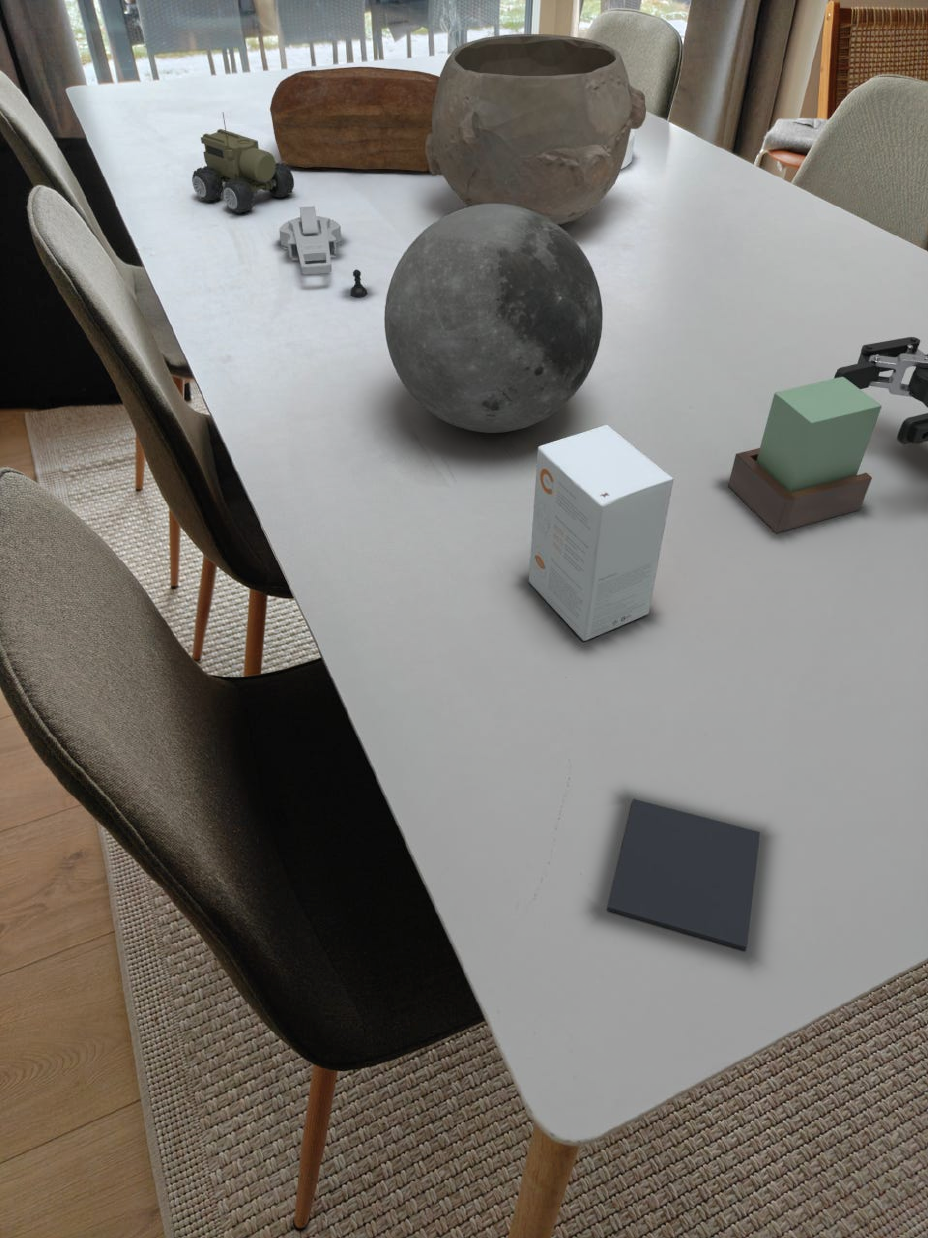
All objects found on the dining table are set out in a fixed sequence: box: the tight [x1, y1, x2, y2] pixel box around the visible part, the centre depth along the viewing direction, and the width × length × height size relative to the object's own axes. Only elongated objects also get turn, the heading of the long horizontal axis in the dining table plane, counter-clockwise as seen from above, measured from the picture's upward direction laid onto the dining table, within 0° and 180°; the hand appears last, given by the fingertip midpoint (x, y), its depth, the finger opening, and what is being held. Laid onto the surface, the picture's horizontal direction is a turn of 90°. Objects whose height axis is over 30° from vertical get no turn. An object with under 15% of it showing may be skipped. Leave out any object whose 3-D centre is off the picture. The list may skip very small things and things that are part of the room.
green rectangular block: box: [756, 377, 883, 493], centre depth 80 cm, size 7×5×10 cm
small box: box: [528, 424, 674, 642], centre depth 70 cm, size 8×6×13 cm
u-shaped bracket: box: [727, 447, 873, 534], centre depth 82 cm, size 9×7×4 cm
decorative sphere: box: [383, 204, 604, 434], centre depth 86 cm, size 20×20×20 cm
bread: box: [269, 66, 440, 172], centre depth 141 cm, size 14×28×12 cm, turn 86°
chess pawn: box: [349, 269, 368, 298], centre depth 111 cm, size 2×2×3 cm
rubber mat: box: [607, 798, 760, 951], centre depth 57 cm, size 8×8×1 cm
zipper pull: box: [278, 206, 343, 275], centre depth 118 cm, size 8×18×4 cm, turn 10°
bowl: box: [426, 33, 647, 226], centre depth 122 cm, size 27×29×20 cm
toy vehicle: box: [191, 113, 295, 215], centre depth 130 cm, size 10×11×12 cm
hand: (867, 406), depth 79 cm, fingers open, 8 cm apart
